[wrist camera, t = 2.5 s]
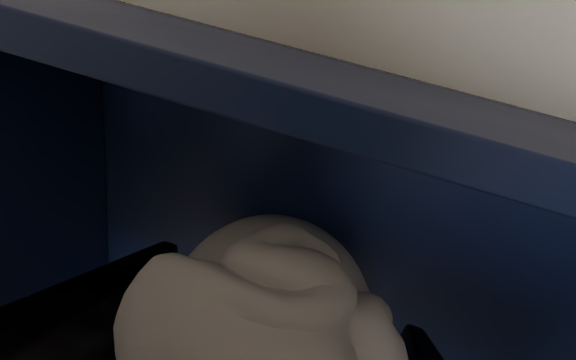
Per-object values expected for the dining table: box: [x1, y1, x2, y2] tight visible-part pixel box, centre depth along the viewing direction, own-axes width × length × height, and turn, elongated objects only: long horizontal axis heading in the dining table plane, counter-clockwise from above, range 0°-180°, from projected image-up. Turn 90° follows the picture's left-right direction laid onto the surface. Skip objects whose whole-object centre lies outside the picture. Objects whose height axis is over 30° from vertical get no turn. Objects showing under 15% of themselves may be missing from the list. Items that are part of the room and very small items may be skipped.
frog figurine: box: [113, 214, 408, 360], centre depth 7 cm, size 6×7×7 cm
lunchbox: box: [0, 0, 576, 360], centre depth 8 cm, size 19×12×5 cm, turn 77°
